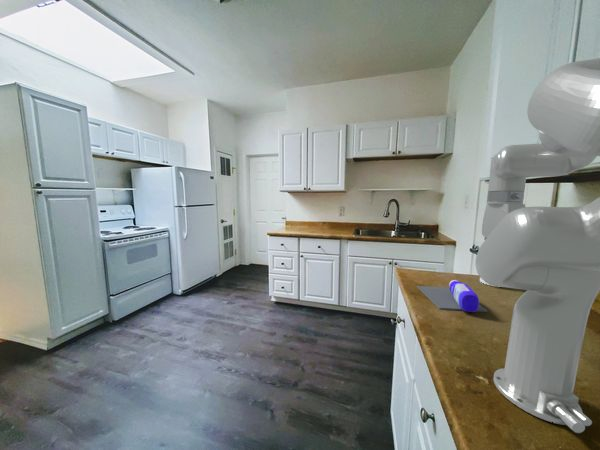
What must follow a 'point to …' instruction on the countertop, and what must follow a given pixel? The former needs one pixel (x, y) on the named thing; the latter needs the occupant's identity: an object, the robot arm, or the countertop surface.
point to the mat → (443, 298)
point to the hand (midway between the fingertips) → (497, 264)
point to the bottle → (464, 296)
